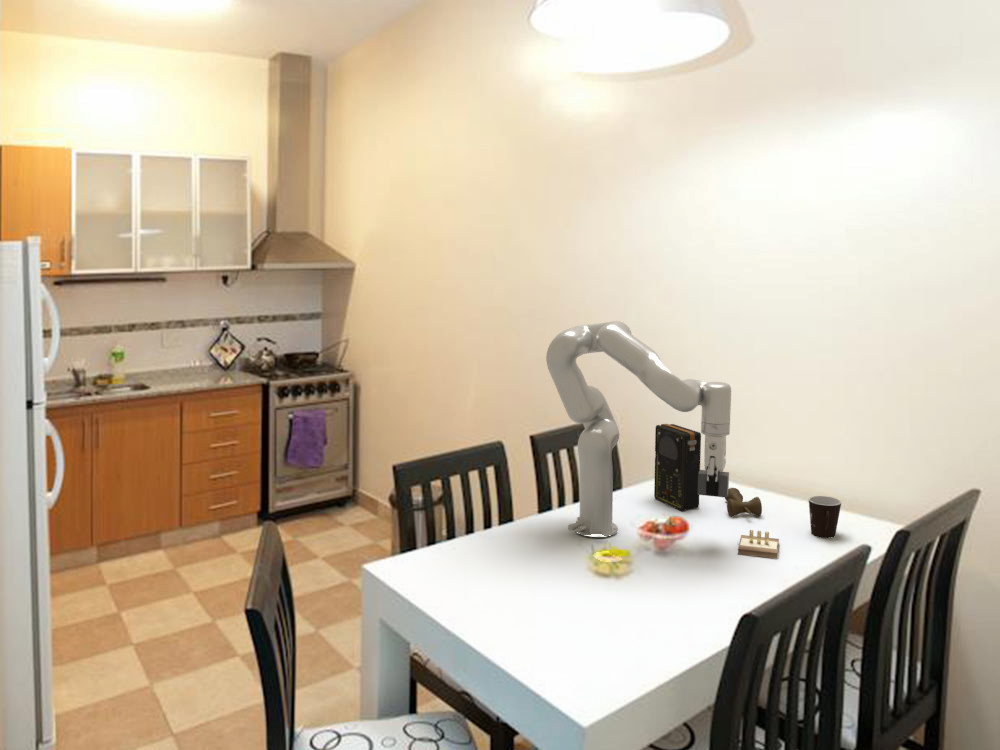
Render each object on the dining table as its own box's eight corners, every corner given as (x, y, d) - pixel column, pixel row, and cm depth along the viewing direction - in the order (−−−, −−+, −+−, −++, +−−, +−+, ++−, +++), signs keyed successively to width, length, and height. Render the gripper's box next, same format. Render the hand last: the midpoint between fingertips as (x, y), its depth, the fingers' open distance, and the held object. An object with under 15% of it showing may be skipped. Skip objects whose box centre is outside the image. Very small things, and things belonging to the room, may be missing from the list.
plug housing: (726, 497, 215) (727, 476, 214) (697, 494, 218) (698, 473, 217) (728, 493, 219) (729, 472, 218) (699, 490, 222) (700, 469, 221)
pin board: (777, 558, 210) (778, 540, 209) (737, 554, 213) (738, 536, 213) (778, 544, 220) (779, 526, 219) (740, 539, 224) (741, 522, 223)
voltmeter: (650, 498, 261) (652, 424, 257) (672, 495, 264) (674, 421, 260) (680, 513, 247) (682, 434, 243) (702, 508, 250) (705, 431, 246)
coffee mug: (812, 526, 233) (814, 493, 231) (843, 533, 228) (845, 499, 226) (798, 538, 224) (800, 504, 223) (830, 545, 219) (832, 510, 217)
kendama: (746, 503, 257) (766, 522, 237) (716, 504, 257) (734, 523, 237) (746, 485, 256) (766, 503, 236) (716, 486, 256) (734, 504, 237)
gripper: (726, 435, 206) (724, 503, 209) (732, 422, 222) (729, 485, 225) (697, 433, 209) (695, 500, 212) (704, 420, 224) (702, 483, 227)
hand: (712, 492), depth 218 cm, fingers closed on plug housing, 4 cm apart
